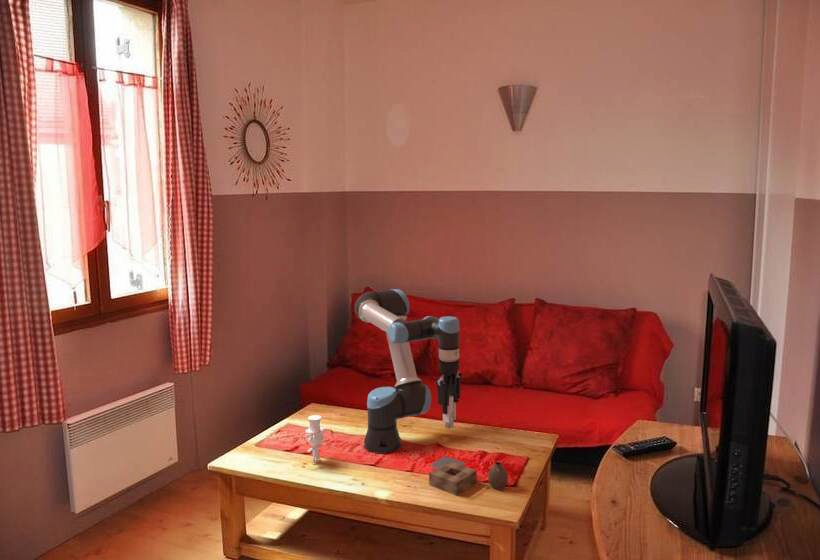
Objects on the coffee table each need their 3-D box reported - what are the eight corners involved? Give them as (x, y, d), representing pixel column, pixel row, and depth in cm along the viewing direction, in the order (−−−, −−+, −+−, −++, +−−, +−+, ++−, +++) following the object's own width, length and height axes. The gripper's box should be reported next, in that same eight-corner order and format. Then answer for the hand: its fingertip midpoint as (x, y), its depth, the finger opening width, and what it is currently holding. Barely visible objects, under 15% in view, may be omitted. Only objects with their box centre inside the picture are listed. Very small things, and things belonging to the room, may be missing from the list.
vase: (486, 482, 232) (486, 459, 231) (505, 481, 233) (505, 458, 232) (490, 491, 226) (490, 468, 224) (509, 490, 226) (510, 467, 225)
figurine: (314, 454, 257) (313, 411, 254) (331, 458, 254) (330, 414, 251) (300, 466, 247) (298, 420, 244) (317, 469, 244) (316, 423, 241)
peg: (443, 427, 242) (443, 396, 240) (448, 424, 244) (448, 394, 242) (450, 429, 240) (450, 397, 238) (455, 426, 242) (455, 395, 240)
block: (429, 486, 230) (429, 472, 229) (449, 474, 239) (449, 461, 238) (456, 496, 222) (456, 483, 222) (476, 483, 232) (476, 470, 231)
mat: (429, 465, 246) (429, 464, 246) (445, 456, 253) (445, 456, 253) (450, 473, 240) (450, 472, 239) (466, 464, 247) (466, 463, 247)
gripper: (444, 366, 229) (444, 429, 233) (470, 355, 241) (469, 416, 245) (427, 362, 234) (428, 424, 238) (453, 352, 246) (453, 411, 250)
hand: (449, 420), depth 242 cm, fingers closed on peg, 3 cm apart
